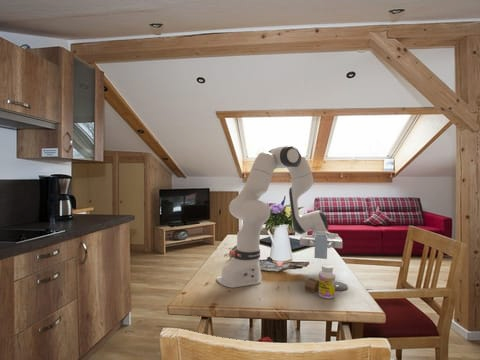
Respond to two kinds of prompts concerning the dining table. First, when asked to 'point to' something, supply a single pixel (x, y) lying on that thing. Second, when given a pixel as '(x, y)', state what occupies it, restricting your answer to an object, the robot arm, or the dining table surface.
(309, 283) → the walnut box
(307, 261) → the dining table surface
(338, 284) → the slate coaster
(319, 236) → the blue-gray rectangular block
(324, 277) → the supplement bottle
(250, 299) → the dining table surface
